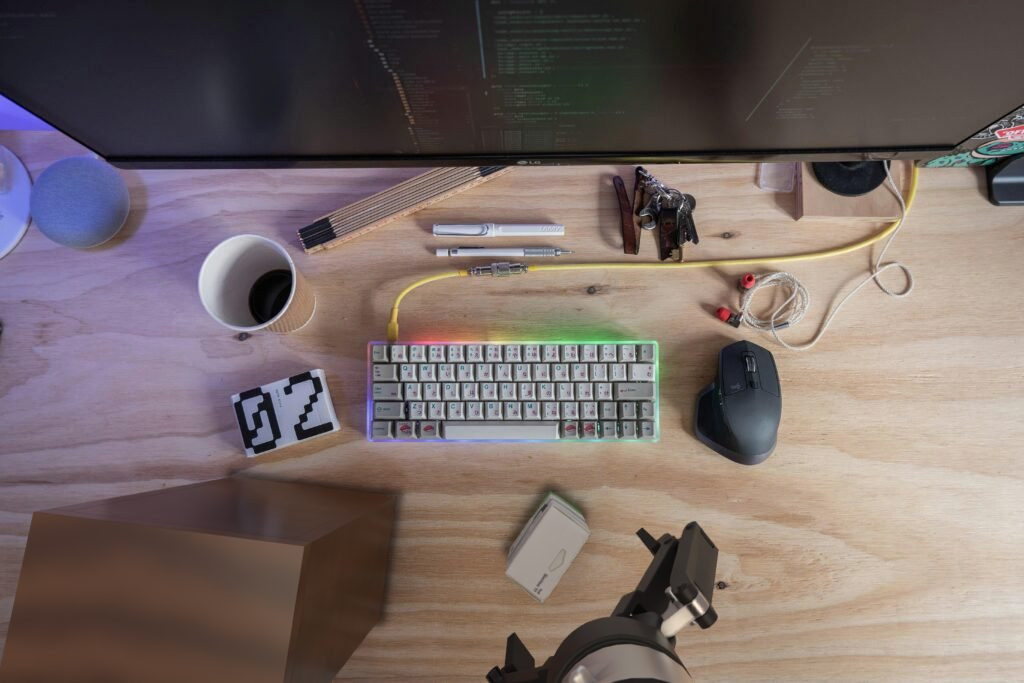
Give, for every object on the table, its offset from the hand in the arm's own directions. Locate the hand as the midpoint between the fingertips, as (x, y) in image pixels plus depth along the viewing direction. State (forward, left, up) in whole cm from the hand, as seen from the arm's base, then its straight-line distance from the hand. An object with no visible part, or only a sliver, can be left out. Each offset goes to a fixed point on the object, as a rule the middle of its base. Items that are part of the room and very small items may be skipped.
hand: (585, 595), depth 50 cm
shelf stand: (-4, +31, -21) cm, 37 cm away
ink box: (+1, +3, -21) cm, 21 cm away
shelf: (-4, +31, +7) cm, 32 cm away
